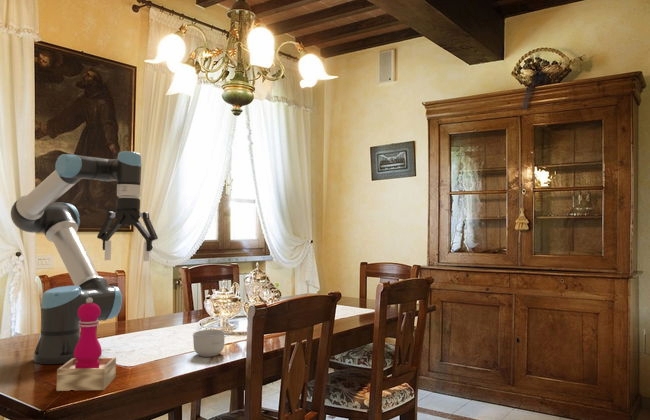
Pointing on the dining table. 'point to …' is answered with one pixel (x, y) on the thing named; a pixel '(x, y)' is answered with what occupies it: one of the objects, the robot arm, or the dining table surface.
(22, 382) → the dining table surface
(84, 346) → the pepper mill
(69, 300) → the robot arm
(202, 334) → the teacup
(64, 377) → the oak box
